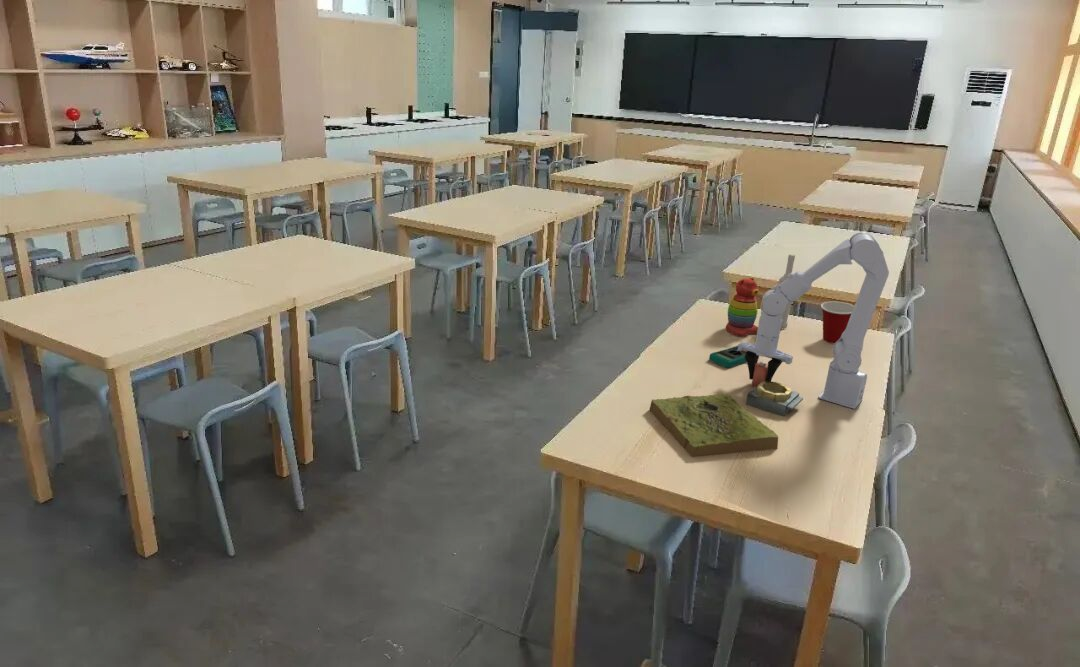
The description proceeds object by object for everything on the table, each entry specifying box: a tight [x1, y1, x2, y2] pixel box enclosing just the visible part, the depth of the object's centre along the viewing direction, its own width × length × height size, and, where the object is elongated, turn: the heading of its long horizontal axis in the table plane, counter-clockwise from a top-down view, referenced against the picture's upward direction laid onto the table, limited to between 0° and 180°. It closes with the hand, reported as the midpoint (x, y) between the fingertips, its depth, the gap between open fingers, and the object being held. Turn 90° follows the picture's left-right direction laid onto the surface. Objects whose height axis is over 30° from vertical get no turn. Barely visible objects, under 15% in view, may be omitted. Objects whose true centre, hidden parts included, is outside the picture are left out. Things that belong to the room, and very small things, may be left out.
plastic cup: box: [820, 300, 855, 345], centre depth 235 cm, size 11×11×12 cm
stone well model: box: [745, 381, 804, 417], centre depth 188 cm, size 11×10×4 cm
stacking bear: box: [725, 277, 760, 338], centre depth 239 cm, size 11×10×18 cm
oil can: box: [751, 361, 768, 388], centre depth 199 cm, size 4×4×7 cm
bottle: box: [778, 253, 796, 329], centre depth 243 cm, size 5×5×25 cm
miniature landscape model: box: [649, 393, 779, 458], centre depth 174 cm, size 22×24×5 cm
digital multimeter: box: [708, 345, 747, 369], centre depth 217 cm, size 7×15×3 cm, turn 128°
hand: (759, 380), depth 200 cm, fingers closed on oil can, 4 cm apart
